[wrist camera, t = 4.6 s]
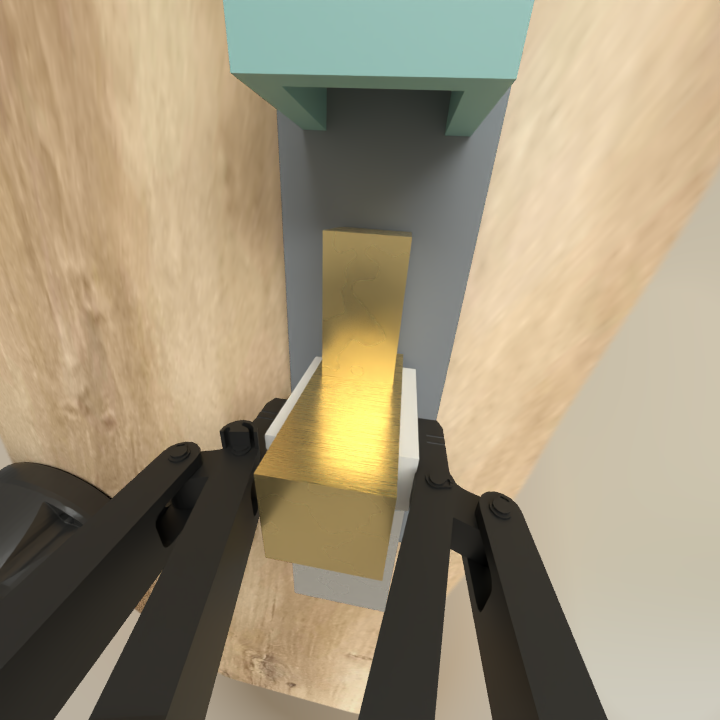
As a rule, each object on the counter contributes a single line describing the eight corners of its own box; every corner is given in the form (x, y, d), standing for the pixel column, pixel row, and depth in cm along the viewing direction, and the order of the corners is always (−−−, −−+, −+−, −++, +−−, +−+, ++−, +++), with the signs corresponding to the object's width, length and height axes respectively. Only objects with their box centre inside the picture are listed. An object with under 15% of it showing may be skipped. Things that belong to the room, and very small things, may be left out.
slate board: (301, 514, 25) (298, 523, 24) (275, -78, 10) (265, -100, 10) (408, 533, 24) (408, 543, 23) (544, -88, 9) (555, -113, 9)
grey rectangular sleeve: (317, 518, 24) (294, 592, 19) (316, 425, 19) (287, 491, 15) (389, 532, 23) (384, 611, 18) (405, 438, 19) (404, 512, 14)
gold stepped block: (327, 512, 23) (282, 675, 15) (332, 225, 13) (220, 244, 6) (379, 521, 22) (362, 695, 14) (420, 232, 13) (438, 263, 5)
